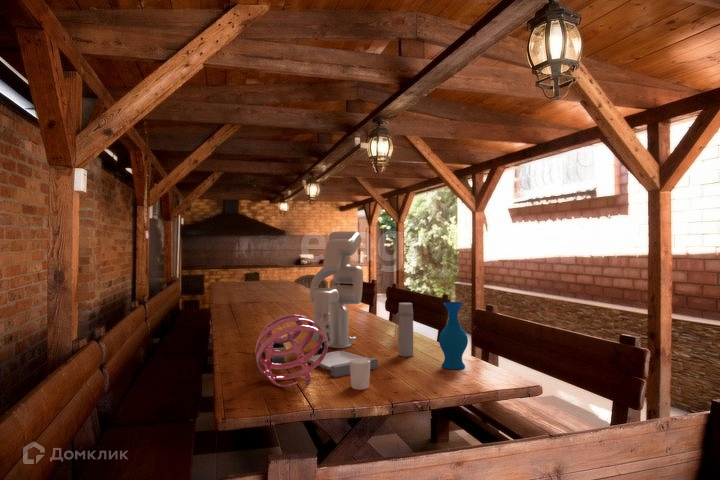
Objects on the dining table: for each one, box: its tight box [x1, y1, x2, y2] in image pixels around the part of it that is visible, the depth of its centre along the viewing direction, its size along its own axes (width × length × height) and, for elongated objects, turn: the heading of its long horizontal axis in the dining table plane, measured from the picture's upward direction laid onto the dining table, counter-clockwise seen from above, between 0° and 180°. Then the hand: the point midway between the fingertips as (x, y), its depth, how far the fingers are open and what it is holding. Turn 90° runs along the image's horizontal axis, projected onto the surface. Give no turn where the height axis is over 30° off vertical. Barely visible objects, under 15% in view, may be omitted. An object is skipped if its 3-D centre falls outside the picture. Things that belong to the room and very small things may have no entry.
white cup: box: [349, 358, 371, 391], centre depth 179 cm, size 8×8×10 cm
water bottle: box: [394, 302, 414, 358], centre depth 226 cm, size 9×8×25 cm
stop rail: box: [330, 357, 379, 378], centre depth 199 cm, size 22×3×4 cm, turn 126°
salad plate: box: [307, 350, 369, 371], centre depth 211 cm, size 21×21×3 cm
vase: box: [438, 301, 469, 371], centre depth 206 cm, size 12×13×28 cm
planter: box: [268, 336, 287, 364], centre depth 225 cm, size 28×7×7 cm, turn 14°
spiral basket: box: [254, 313, 329, 389], centre depth 183 cm, size 28×28×27 cm
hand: (321, 355), depth 220 cm, fingers closed
